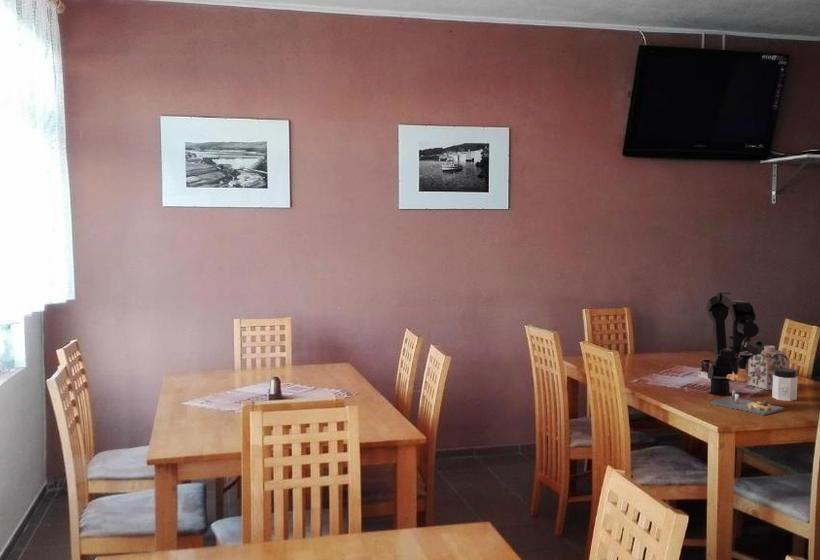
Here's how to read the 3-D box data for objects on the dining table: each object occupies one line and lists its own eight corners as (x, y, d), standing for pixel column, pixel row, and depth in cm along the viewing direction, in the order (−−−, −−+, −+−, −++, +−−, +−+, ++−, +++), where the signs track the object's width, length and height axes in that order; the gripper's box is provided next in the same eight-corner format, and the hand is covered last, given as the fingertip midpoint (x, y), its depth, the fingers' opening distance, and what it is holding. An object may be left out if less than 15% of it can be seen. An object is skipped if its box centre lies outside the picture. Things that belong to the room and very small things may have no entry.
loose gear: (722, 378, 291) (722, 369, 290) (734, 376, 296) (734, 366, 296) (743, 382, 283) (743, 372, 283) (755, 379, 289) (756, 370, 288)
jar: (771, 399, 301) (772, 370, 300) (772, 395, 308) (773, 366, 307) (796, 402, 296) (797, 372, 295) (796, 398, 304) (798, 369, 303)
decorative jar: (788, 389, 320) (790, 347, 319) (767, 390, 317) (768, 349, 316) (767, 383, 332) (769, 343, 330) (746, 385, 328) (748, 344, 327)
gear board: (710, 403, 293) (710, 392, 293) (730, 399, 301) (730, 388, 301) (763, 415, 275) (764, 403, 275) (783, 410, 283) (784, 398, 283)
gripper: (747, 338, 277) (745, 379, 278) (773, 334, 288) (771, 374, 289) (719, 334, 286) (718, 374, 287) (745, 331, 297) (744, 369, 298)
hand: (738, 373), depth 290 cm, fingers closed on loose gear, 4 cm apart
